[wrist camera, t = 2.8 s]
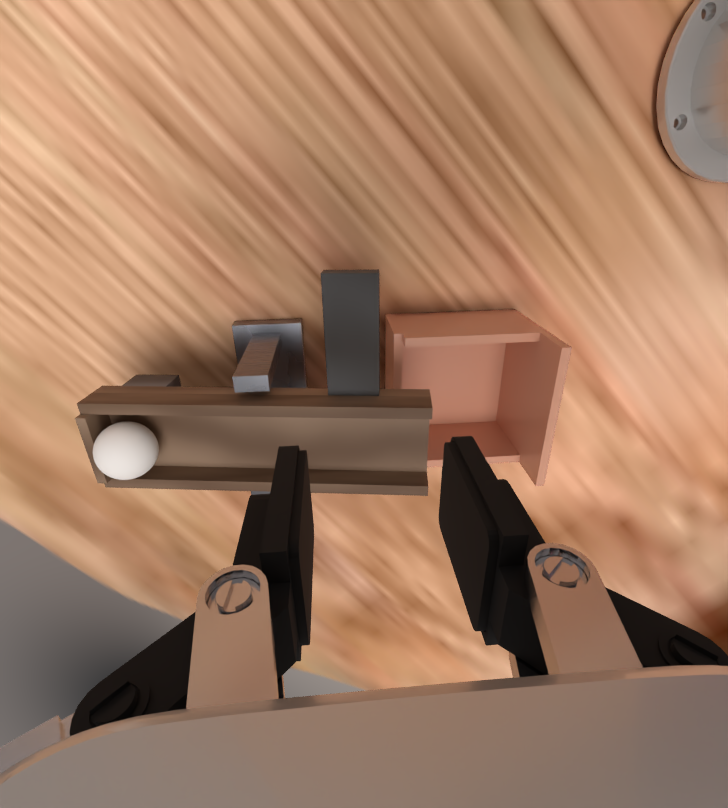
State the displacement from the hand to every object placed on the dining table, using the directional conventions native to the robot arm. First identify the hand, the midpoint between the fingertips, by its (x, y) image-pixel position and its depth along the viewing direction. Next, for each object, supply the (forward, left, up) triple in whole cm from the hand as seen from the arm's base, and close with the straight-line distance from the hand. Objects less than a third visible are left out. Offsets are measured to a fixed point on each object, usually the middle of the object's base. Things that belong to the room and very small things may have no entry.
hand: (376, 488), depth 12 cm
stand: (+6, -6, -23) cm, 25 cm away
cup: (+6, +8, -23) cm, 25 cm away
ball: (+6, -14, -14) cm, 20 cm away
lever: (+6, -6, -15) cm, 17 cm away
